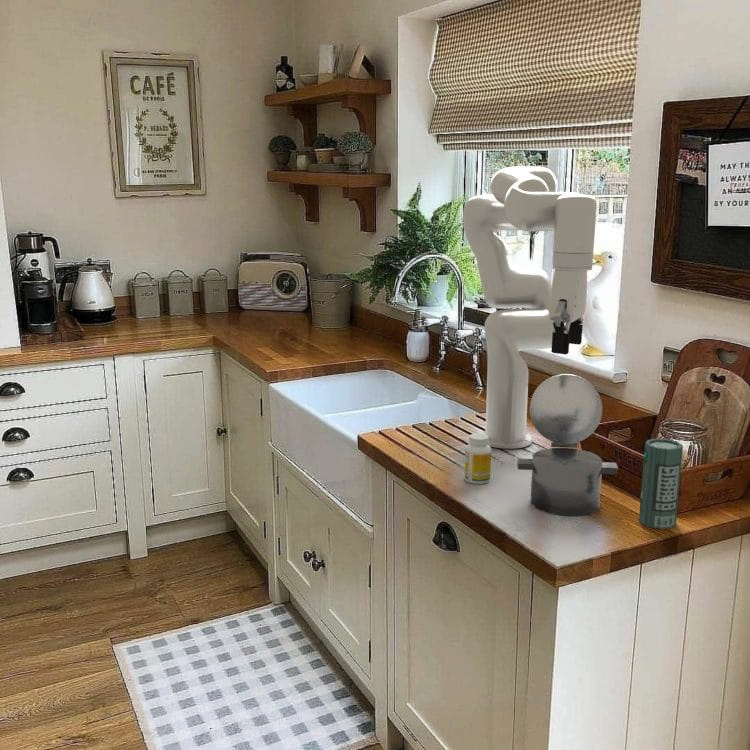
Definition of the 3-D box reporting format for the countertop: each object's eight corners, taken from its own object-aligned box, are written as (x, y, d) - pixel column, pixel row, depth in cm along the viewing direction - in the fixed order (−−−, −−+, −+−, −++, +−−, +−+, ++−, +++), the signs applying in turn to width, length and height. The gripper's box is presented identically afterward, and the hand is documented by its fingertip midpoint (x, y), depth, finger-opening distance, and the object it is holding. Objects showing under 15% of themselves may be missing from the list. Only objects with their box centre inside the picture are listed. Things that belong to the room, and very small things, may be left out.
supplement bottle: (459, 480, 171) (460, 436, 169) (474, 473, 175) (475, 430, 173) (480, 486, 168) (481, 441, 166) (495, 479, 172) (497, 435, 169)
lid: (528, 446, 166) (528, 443, 168) (600, 449, 164) (598, 446, 166) (531, 373, 163) (530, 371, 166) (604, 375, 161) (602, 374, 164)
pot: (515, 488, 167) (517, 445, 165) (609, 492, 164) (612, 450, 162) (516, 513, 155) (518, 467, 152) (619, 518, 152) (622, 472, 150)
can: (664, 514, 154) (671, 438, 150) (681, 527, 148) (688, 448, 145) (634, 516, 153) (640, 439, 150) (649, 530, 147) (656, 450, 144)
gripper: (565, 255, 166) (559, 338, 171) (539, 264, 152) (534, 355, 156) (602, 257, 163) (596, 342, 168) (580, 267, 148) (574, 359, 153)
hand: (566, 348), depth 162 cm, fingers open, 9 cm apart
